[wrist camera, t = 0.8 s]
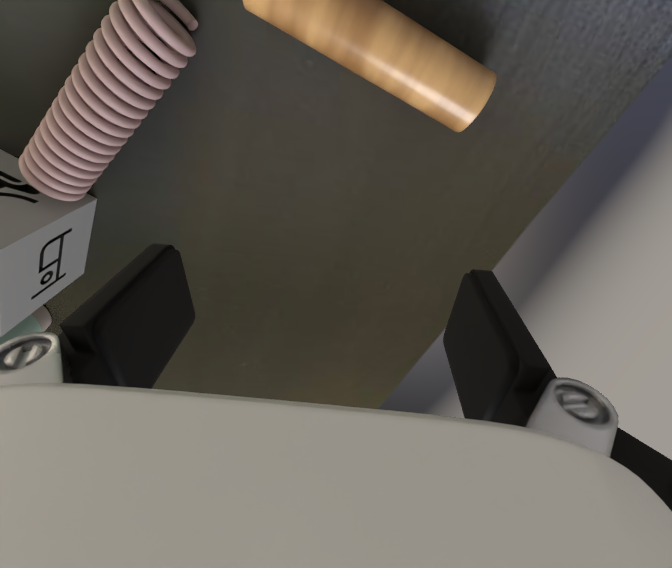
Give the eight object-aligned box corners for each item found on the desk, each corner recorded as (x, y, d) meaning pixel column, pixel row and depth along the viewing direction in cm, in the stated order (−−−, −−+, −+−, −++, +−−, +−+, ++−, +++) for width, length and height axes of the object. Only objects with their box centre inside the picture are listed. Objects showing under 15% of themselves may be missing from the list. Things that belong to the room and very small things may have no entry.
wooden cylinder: (256, 10, 22) (236, 9, 19) (274, -68, 20) (255, -84, 17) (451, 124, 25) (461, 139, 22) (487, 69, 23) (504, 77, 20)
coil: (62, 214, 27) (193, 42, 20) (-3, 170, 25) (118, -42, 17) (94, 191, 30) (215, 38, 23) (40, 151, 28) (156, -32, 21)
